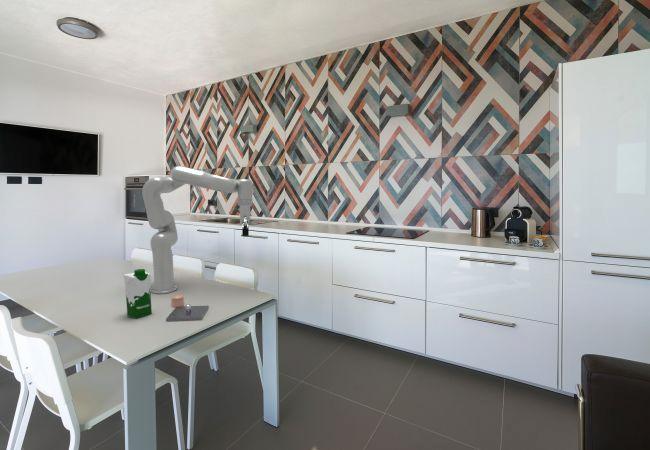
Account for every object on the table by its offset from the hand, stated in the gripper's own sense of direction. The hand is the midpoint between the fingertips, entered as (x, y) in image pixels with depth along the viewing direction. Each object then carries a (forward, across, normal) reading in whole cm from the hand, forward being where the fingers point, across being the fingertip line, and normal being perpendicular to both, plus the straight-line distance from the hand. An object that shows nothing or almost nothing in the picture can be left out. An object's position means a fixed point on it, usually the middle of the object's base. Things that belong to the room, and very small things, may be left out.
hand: (245, 234), depth 179 cm
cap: (+30, +19, -31) cm, 47 cm away
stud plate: (+30, +32, -24) cm, 50 cm away
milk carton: (+30, +28, -45) cm, 61 cm away
